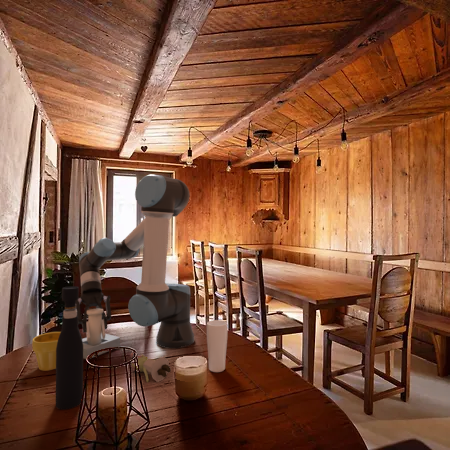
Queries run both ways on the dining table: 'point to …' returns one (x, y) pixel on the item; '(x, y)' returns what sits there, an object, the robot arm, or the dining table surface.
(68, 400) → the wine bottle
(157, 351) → the dining table surface
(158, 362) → the figurine
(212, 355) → the drinking glass
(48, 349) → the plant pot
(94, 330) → the cylinder
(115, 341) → the jig
